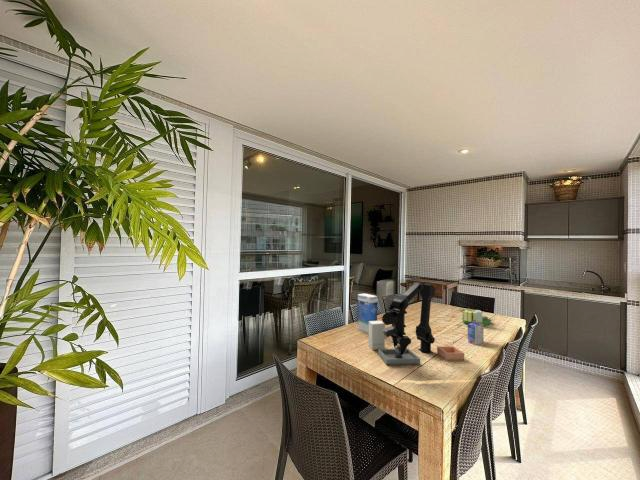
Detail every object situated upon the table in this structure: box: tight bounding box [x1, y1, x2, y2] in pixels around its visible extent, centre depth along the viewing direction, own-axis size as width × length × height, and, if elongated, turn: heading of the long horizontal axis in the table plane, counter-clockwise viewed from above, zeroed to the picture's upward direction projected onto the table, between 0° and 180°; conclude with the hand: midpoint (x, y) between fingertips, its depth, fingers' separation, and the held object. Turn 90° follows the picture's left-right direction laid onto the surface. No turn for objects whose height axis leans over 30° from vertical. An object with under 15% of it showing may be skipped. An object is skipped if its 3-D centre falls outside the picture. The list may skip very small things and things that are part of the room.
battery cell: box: [394, 344, 402, 359], centre depth 151 cm, size 4×4×7 cm
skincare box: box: [368, 320, 386, 351], centre depth 167 cm, size 8×7×16 cm
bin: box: [436, 345, 465, 362], centre depth 156 cm, size 10×10×4 cm
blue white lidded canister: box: [357, 293, 378, 335], centre depth 199 cm, size 13×8×26 cm, turn 35°
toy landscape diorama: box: [459, 308, 493, 327], centre depth 225 cm, size 35×20×13 cm, turn 131°
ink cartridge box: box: [467, 320, 485, 346], centre depth 180 cm, size 10×6×14 cm, turn 121°
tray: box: [377, 348, 421, 366], centre depth 151 cm, size 14×18×3 cm
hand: (398, 351), depth 151 cm, fingers open, 9 cm apart
